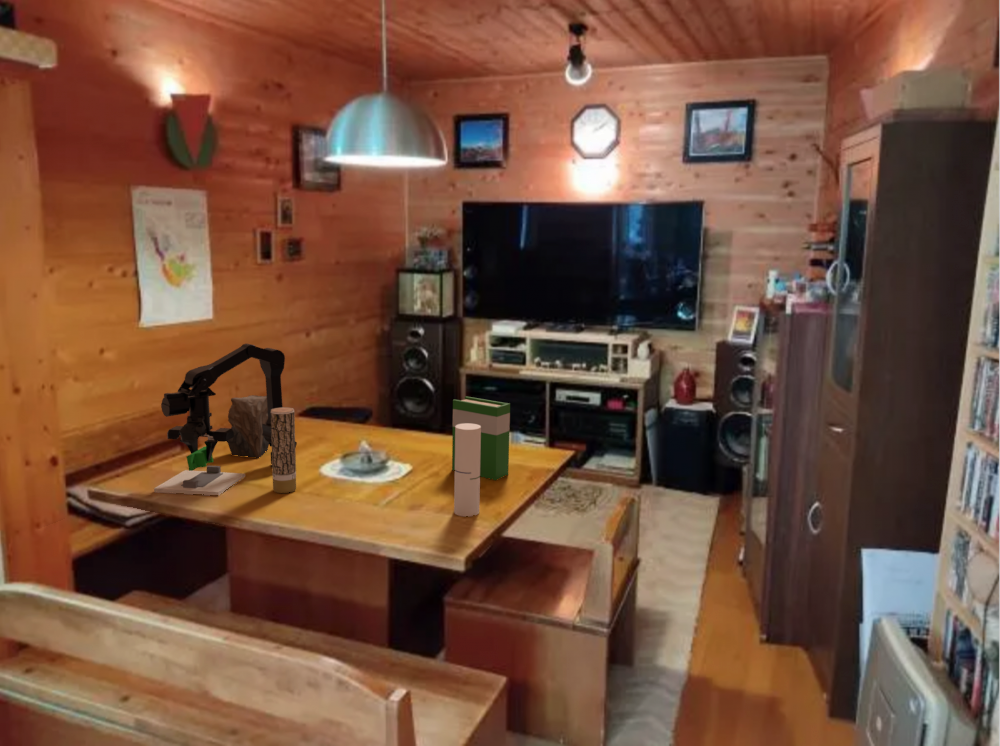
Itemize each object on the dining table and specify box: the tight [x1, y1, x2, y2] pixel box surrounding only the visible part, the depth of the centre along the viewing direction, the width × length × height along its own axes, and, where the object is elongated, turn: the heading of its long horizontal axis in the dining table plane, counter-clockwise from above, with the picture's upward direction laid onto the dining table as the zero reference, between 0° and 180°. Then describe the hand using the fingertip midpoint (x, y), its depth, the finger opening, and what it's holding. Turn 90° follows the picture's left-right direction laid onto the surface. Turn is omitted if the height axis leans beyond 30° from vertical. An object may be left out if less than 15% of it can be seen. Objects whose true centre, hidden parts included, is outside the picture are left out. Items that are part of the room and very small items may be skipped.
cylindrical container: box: [453, 423, 481, 517], centre depth 213 cm, size 7×7×25 cm
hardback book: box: [451, 396, 511, 481], centre depth 250 cm, size 18×7×24 cm, turn 56°
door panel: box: [153, 465, 246, 496], centre depth 233 cm, size 20×18×3 cm
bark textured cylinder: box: [271, 406, 297, 494], centre depth 228 cm, size 7×7×25 cm
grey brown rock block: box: [226, 394, 270, 459], centre depth 267 cm, size 13×13×20 cm
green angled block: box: [186, 445, 214, 471], centre depth 233 cm, size 11×4×5 cm, turn 174°
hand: (202, 460), depth 233 cm, fingers closed on green angled block, 4 cm apart
